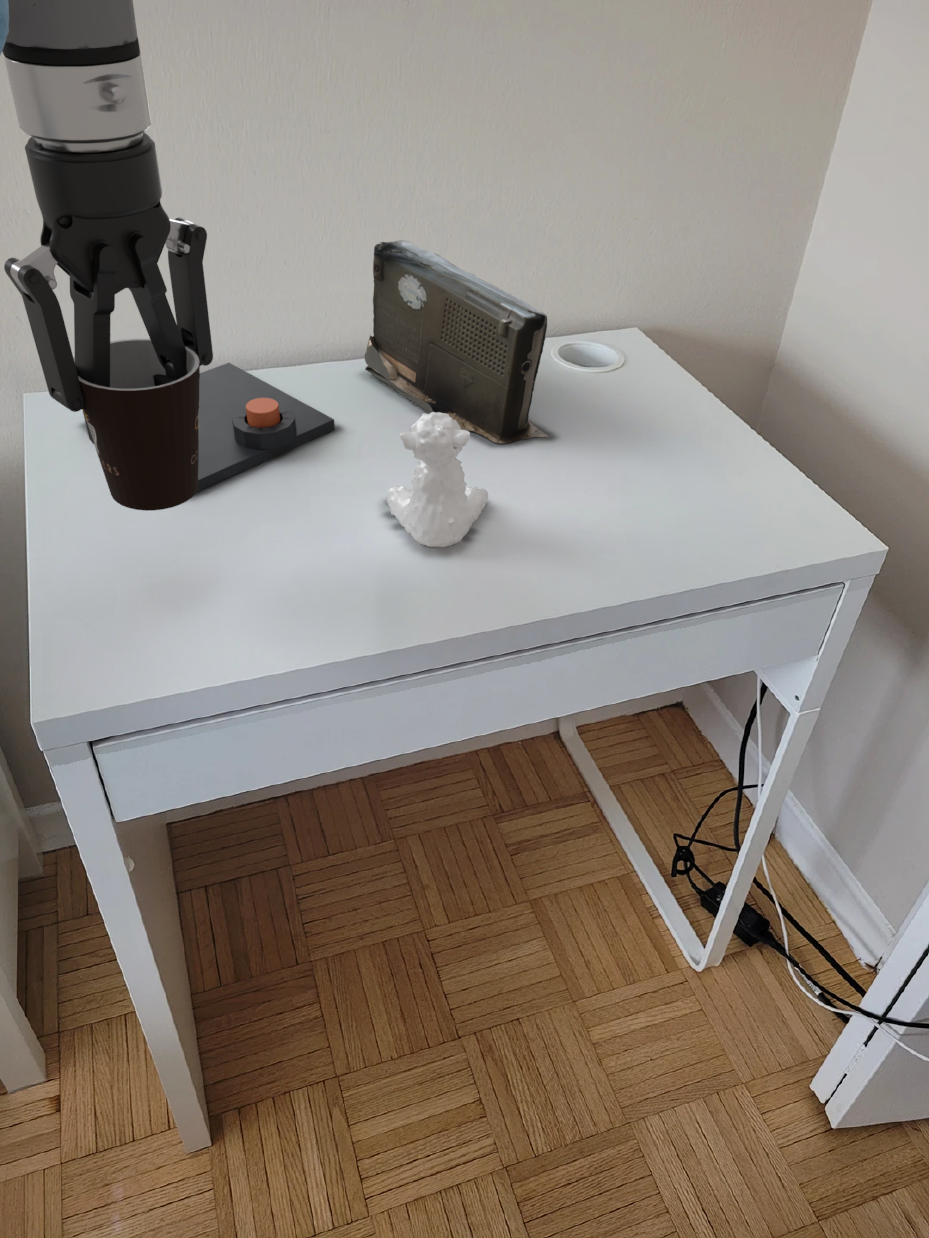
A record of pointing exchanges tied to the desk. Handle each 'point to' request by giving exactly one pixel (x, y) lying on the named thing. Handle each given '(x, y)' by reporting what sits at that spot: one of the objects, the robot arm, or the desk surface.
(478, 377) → the radio
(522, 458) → the desk surface
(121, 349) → the coffee mug
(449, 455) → the sitting furry creature
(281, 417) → the scale
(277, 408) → the button
